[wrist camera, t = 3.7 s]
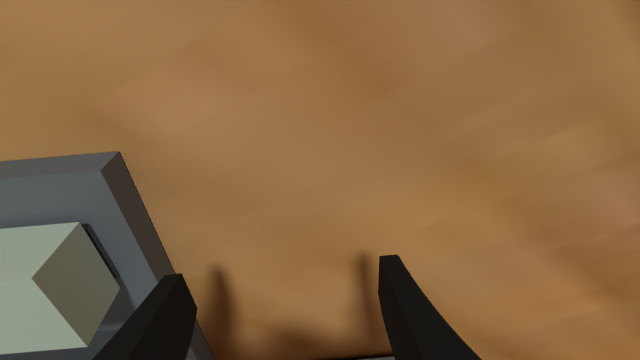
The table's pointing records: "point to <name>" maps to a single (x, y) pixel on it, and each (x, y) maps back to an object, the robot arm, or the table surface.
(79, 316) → the sage slider
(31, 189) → the control panel
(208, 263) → the table surface
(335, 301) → the table surface
